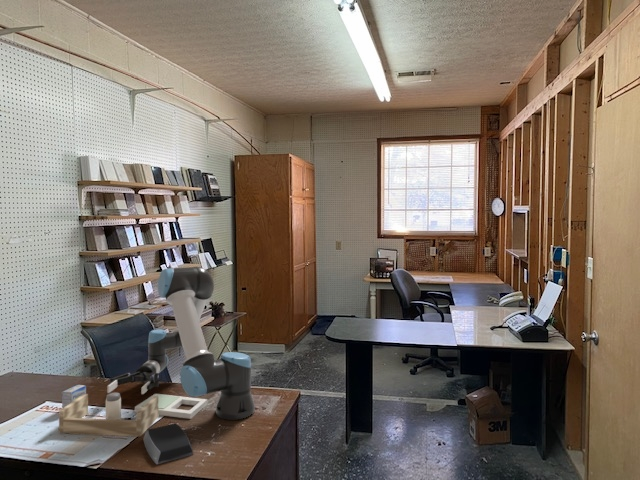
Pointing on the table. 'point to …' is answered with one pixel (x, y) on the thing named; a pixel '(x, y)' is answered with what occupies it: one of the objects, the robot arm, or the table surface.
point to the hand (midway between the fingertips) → (125, 390)
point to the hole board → (175, 405)
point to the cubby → (105, 420)
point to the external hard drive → (167, 443)
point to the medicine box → (72, 394)
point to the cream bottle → (113, 406)
